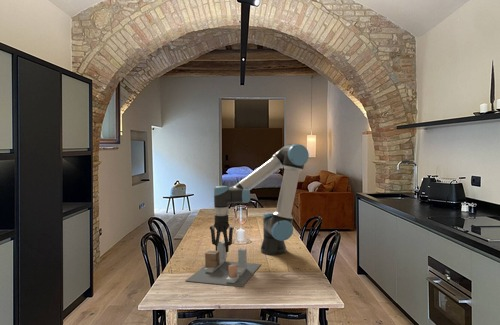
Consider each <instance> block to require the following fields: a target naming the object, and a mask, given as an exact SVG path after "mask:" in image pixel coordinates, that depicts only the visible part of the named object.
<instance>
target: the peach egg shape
mask: <svg viewBox="0 0 500 325" xmlns="http://www.w3.org/2000/svg"><path fill="white" fill-rule="evenodd" d="M229 277H231V278H235V277H237V265H236V264H230V265H229Z"/></svg>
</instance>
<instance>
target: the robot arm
mask: <svg viewBox="0 0 500 325" xmlns="http://www.w3.org/2000/svg"><path fill="white" fill-rule="evenodd" d="M309 156H310V153H309V150H308V149H307V147H305V145H303V144H299V143H293V144H292V143H288V144H286V145H284V146H283V147H281V148H280V149H279V150H278V151H276V152H275V153H274V154H272V156H271V158H270V159H268V160H267V161H266V162H265V163H263V164H262V165H261V166H259V167H257V169H255V170H254V171H253V172H251V173H250V174H248V175H247V176H245V177H244V178H243V179H241V180H240V181H239V182H237V183H235V184H234V185H232V186H230V187H229V186H228V185H216V186H215V187H214V189H213V203H214V204H213V205H214V206H213V207H214V224H213V225H211V226H209V230H210V235H211V236H210V237H211V244H212V245H214V246H215V251H218V242H220V237H221V233H222V236H223V240H224V242H225V246H224V259H226V260H227V258H228V252H229V250H230V248H229V246H231V245H233V231H234V229H235V227H234V226H231V225H230V224H229V204H245V203H249V202H250V201H251V192H250V191H251V190H252V189H253V188H255V187H256V186H258V185H259V184H261V183H262V182H263V181H265V179H267V178H269V177H270V176H271V175H272V174H274V173H275V172H277V171H278V170H279V169H284V171H283V175H282V176H283V177H282V180H281V186H280V190H279V196H278V200H277V203H276V204H277V205H276V209H275V211H274V212H266V213H263V216H262V217H263V218H262V222H263V223H262V224H263V228H262V229H263V232H262V233H263V239H262V243H261V246H260V252H261V253H262V254H265V255H282V254H285V253H286V252H287V246H286V243H285V241H287V240H289V239H290V238H291V237H292V235H293V233H294V226H293V220H294V217H293V215H292V211H293V208H294V207H293V206H294V201H295V196H296V194H297V193H296V192H297V187H298V182H299V178H300V173H301V172H303V171H304V167H305V164H306V163H307V162H308V160H309V158H310V157H309ZM215 229H216V232H215Z"/></svg>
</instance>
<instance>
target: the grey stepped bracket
mask: <svg viewBox="0 0 500 325" xmlns="http://www.w3.org/2000/svg"><path fill="white" fill-rule="evenodd" d="M224 246H225V241H221V240H219V242H218V251H219V256H220V265H219V266H218V267H216V268H209V267H207V268H205V272H209V273H213V272H214V271H215V270H216V269H217V268H219V267H220V266H221V265H222V264H223V263H224V262H225V261H227V258H226V259H224Z"/></svg>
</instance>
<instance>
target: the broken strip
mask: <svg viewBox="0 0 500 325" xmlns="http://www.w3.org/2000/svg"><path fill="white" fill-rule="evenodd" d="M237 258H238V260H237V262H238V267H237V277H235V278H231V277H229V276H228V277H227V278H226V282H227V283H235V282H236V281H237V280H238V279H239V276H241V275H242V274H243V273H244V272H245V270H246V269H247V263H248V260H247V248H245V247H242V248H241V247H240V248H239V249H238V250H237Z"/></svg>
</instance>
